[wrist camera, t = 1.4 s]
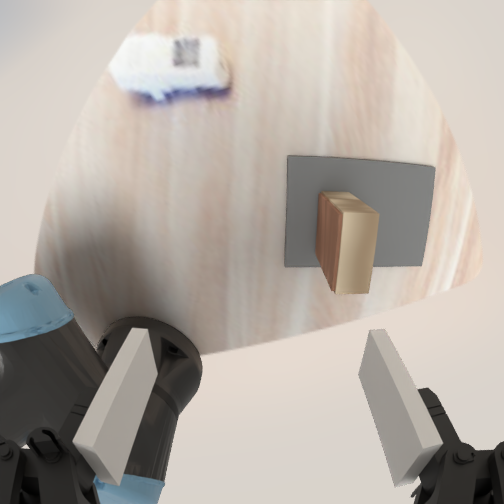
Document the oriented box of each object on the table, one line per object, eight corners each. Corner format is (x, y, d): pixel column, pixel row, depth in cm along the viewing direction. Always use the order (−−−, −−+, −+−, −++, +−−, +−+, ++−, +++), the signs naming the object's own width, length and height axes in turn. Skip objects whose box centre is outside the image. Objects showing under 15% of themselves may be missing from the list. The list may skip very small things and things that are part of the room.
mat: (284, 264, 35) (285, 267, 35) (287, 155, 31) (288, 156, 31) (419, 264, 35) (421, 266, 35) (432, 166, 31) (435, 167, 30)
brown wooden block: (314, 254, 34) (331, 294, 26) (318, 190, 32) (339, 212, 23) (343, 254, 34) (368, 293, 26) (348, 192, 32) (379, 213, 23)
